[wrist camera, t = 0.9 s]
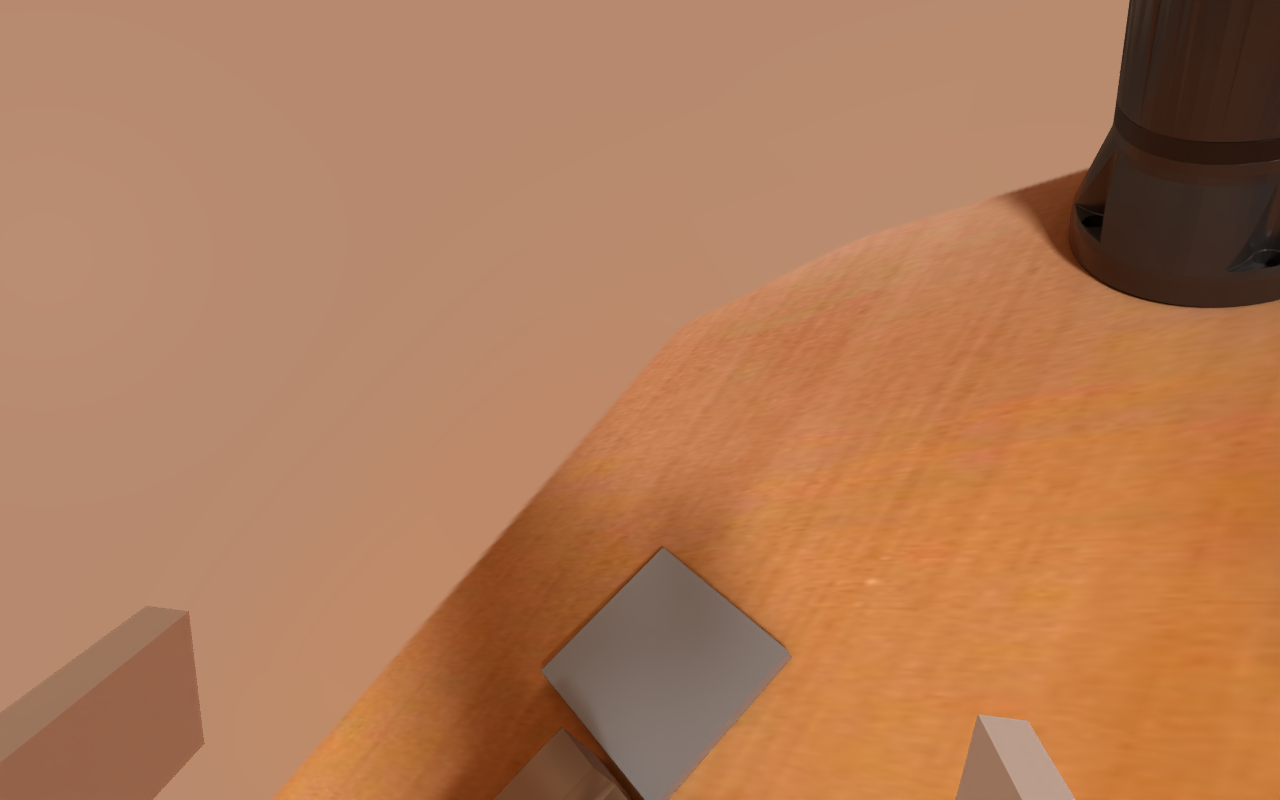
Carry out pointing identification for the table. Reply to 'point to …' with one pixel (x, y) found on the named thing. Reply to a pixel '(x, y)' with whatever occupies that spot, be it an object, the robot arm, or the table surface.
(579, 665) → the slate coaster
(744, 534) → the table surface
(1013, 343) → the table surface
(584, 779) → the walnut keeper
